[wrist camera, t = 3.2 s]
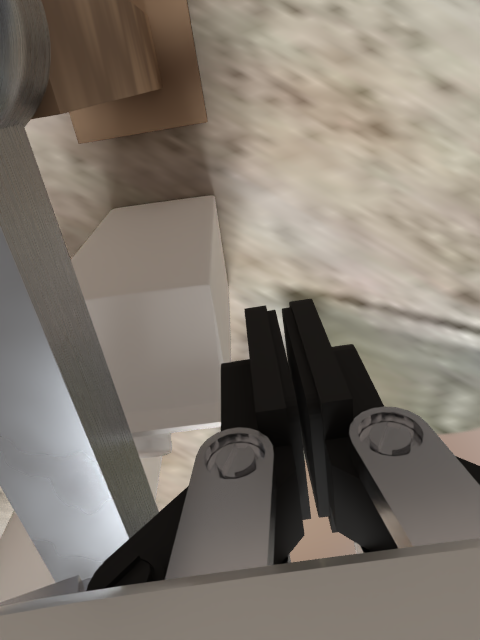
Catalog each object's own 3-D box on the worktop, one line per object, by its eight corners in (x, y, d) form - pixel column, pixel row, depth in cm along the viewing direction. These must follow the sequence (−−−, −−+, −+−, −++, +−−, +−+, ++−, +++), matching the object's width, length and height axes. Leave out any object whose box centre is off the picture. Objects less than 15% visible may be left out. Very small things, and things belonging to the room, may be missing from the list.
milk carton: (111, 208, 31) (-18, 364, 14) (214, 193, 31) (206, 335, 14) (135, 301, 34) (54, 516, 18) (229, 289, 34) (236, 495, 18)
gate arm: (-257, -102, 8) (-506, -193, 5) (-4, -152, 8) (-125, -273, 5) (108, 615, 18) (88, 709, 15) (219, 601, 18) (219, 694, 15)
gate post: (37, -12, 25) (-424, -225, 7) (180, -38, 25) (72, -329, 7) (82, 141, 29) (-145, 254, 11) (207, 120, 29) (184, 200, 11)
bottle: (183, 421, 40) (111, 1093, 14) (97, 442, 41) (-129, 1117, 14) (150, 346, 36) (-37, 1071, 10) (56, 371, 37) (-350, 1103, 11)
